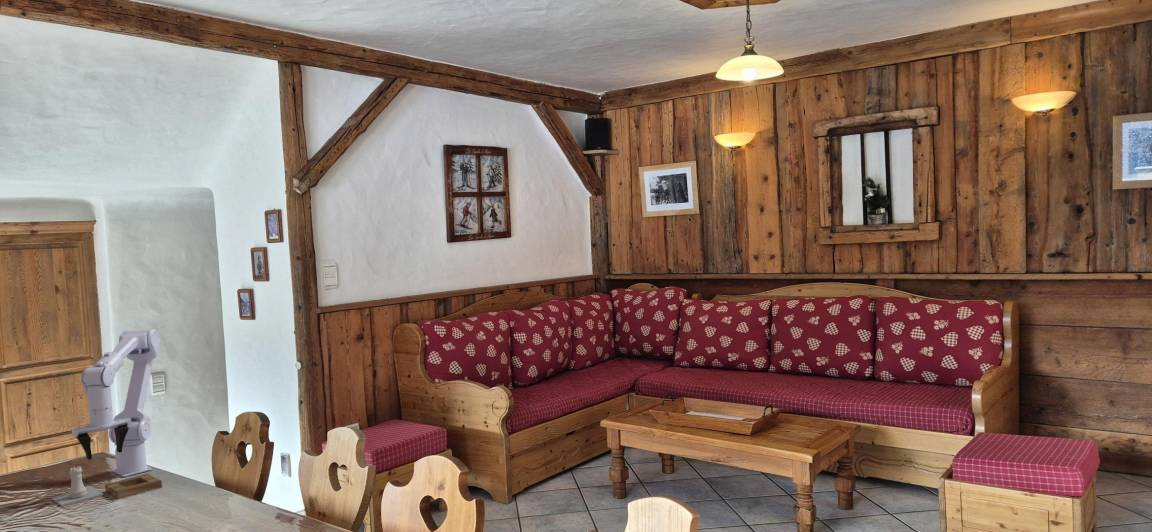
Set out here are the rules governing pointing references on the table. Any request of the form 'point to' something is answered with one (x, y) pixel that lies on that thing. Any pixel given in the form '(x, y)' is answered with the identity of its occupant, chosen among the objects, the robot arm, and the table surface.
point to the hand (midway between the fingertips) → (104, 455)
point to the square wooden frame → (133, 486)
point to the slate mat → (65, 500)
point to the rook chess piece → (76, 484)
